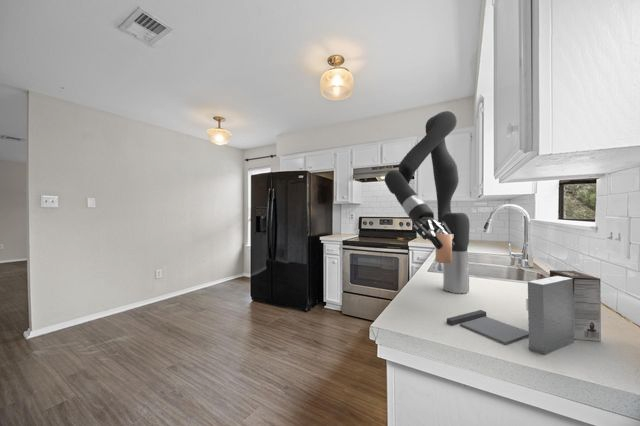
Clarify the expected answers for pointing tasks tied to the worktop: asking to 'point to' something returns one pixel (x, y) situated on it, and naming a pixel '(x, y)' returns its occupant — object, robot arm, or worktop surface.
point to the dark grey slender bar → (466, 317)
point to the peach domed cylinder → (444, 248)
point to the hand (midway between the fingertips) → (446, 246)
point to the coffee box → (585, 304)
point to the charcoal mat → (496, 330)
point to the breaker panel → (550, 314)
